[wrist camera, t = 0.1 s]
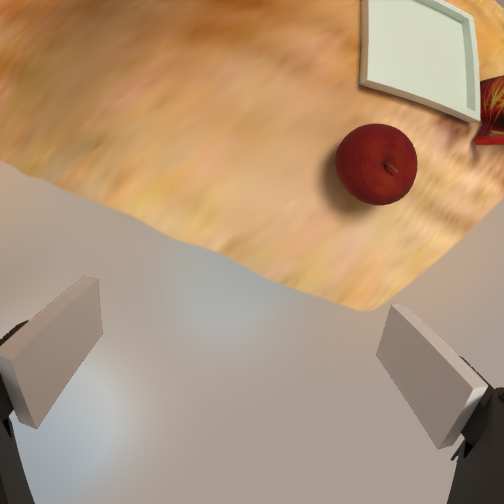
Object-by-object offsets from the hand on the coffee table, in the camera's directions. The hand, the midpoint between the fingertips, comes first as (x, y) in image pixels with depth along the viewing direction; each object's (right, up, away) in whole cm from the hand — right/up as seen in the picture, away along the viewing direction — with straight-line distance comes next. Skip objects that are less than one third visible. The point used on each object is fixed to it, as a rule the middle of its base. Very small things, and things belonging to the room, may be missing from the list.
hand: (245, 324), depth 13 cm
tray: (+26, +34, +21) cm, 47 cm away
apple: (+14, +15, +26) cm, 33 cm away
